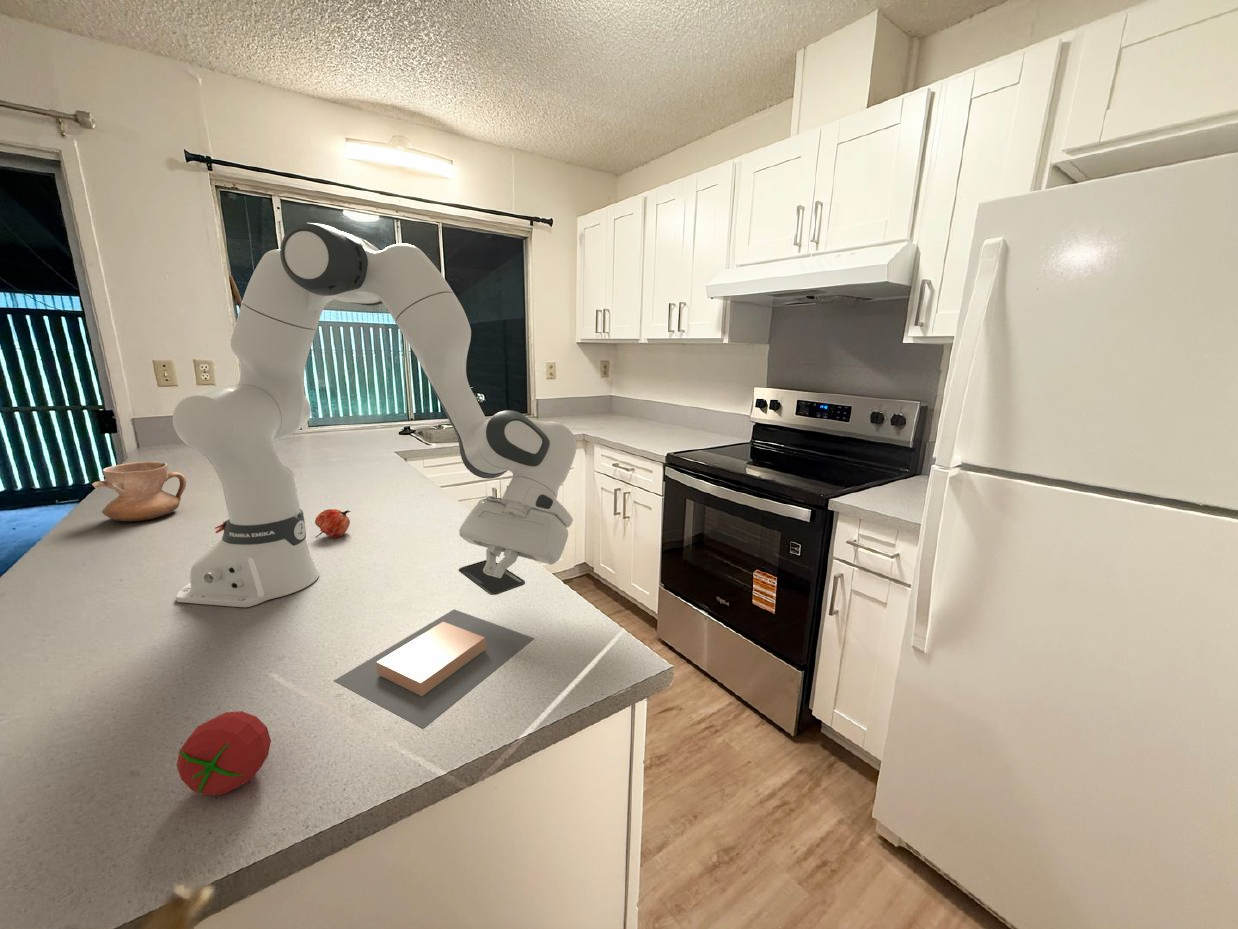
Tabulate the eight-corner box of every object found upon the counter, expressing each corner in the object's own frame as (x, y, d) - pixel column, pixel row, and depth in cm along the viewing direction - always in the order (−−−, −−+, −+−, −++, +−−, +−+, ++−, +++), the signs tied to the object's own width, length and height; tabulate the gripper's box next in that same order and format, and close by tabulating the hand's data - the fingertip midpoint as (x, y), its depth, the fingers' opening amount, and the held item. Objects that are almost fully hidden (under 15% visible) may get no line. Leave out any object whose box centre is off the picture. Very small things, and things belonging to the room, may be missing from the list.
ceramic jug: (105, 531, 120) (93, 476, 117) (96, 518, 129) (85, 466, 126) (198, 514, 134) (189, 465, 131) (184, 503, 143) (176, 456, 140)
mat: (454, 612, 87) (454, 609, 87) (534, 641, 78) (534, 638, 78) (334, 684, 68) (333, 680, 68) (423, 732, 60) (423, 728, 59)
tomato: (239, 685, 55) (187, 724, 47) (298, 723, 56) (256, 767, 48) (193, 742, 54) (134, 791, 47) (254, 779, 55) (205, 833, 48)
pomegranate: (318, 552, 116) (351, 526, 116) (296, 529, 115) (330, 503, 115) (332, 543, 124) (364, 519, 124) (312, 521, 122) (344, 497, 122)
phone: (490, 558, 107) (527, 582, 97) (490, 563, 108) (527, 587, 97) (456, 569, 102) (491, 595, 91) (456, 573, 102) (491, 600, 92)
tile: (443, 621, 78) (376, 662, 68) (485, 637, 74) (420, 683, 64) (444, 634, 79) (377, 676, 69) (485, 650, 75) (422, 698, 65)
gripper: (474, 486, 89) (435, 554, 83) (566, 504, 80) (530, 582, 73) (492, 503, 94) (457, 568, 88) (581, 521, 84) (548, 596, 78)
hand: (491, 575), depth 81 cm, fingers closed
